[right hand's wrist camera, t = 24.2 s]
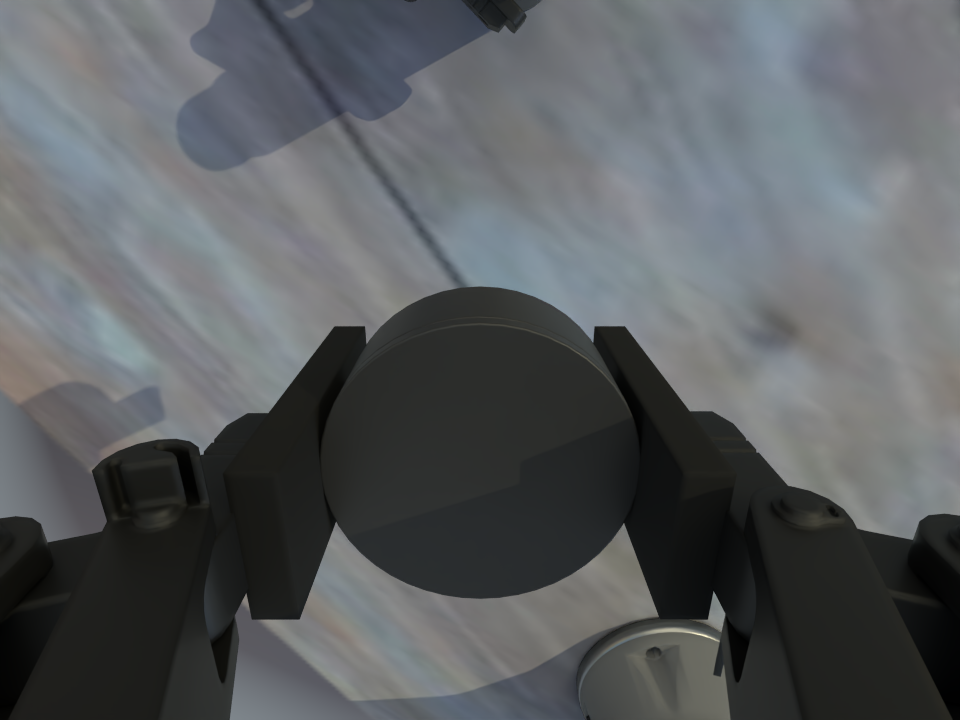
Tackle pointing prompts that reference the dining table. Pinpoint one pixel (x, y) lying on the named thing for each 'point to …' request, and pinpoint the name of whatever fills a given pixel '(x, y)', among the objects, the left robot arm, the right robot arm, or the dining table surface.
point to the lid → (480, 446)
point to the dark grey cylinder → (527, 4)
